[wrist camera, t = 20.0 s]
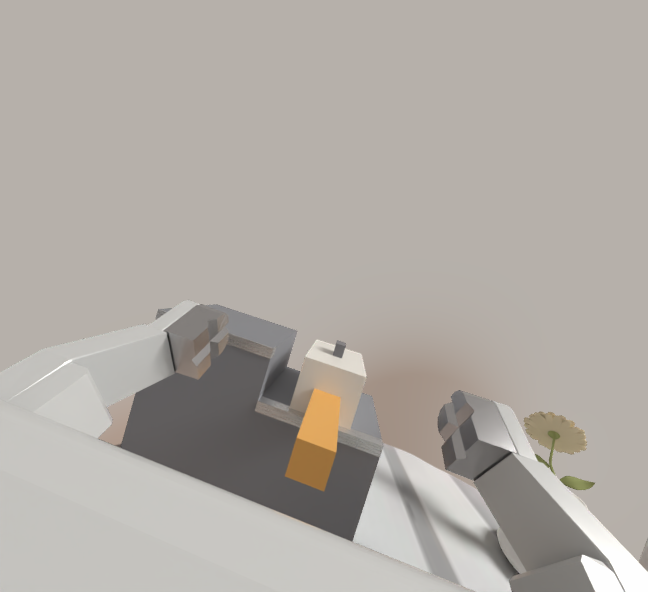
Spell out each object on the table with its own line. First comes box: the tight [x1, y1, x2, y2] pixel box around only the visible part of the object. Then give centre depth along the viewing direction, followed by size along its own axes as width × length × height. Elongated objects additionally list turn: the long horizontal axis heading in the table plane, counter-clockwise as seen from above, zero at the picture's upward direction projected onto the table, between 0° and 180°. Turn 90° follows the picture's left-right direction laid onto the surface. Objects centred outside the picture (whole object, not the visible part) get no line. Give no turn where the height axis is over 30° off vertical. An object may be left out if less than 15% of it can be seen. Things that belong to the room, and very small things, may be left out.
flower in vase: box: [497, 412, 595, 574], centre depth 38 cm, size 13×11×25 cm
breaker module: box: [285, 339, 367, 491], centre depth 26 cm, size 19×7×8 cm, turn 173°
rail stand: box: [121, 305, 383, 541], centre depth 32 cm, size 12×28×26 cm, turn 83°
